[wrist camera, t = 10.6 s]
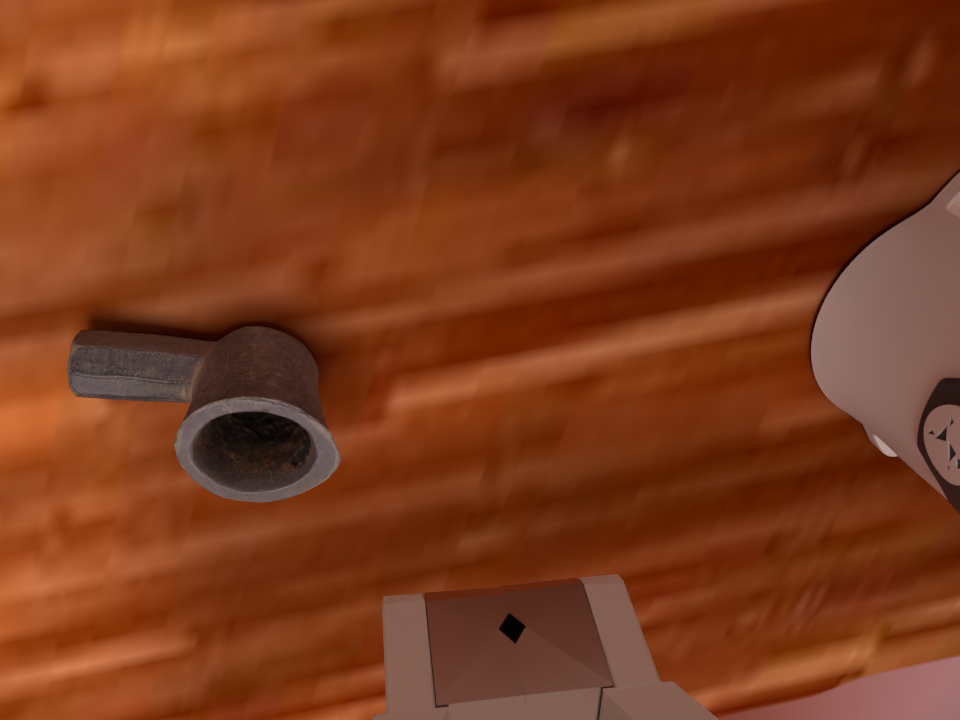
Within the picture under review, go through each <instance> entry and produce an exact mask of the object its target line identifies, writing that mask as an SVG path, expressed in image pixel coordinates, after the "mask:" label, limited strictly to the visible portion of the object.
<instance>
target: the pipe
mask: <svg viewBox="0 0 960 720" xmlns="http://www.w3.org/2000/svg"><path fill="white" fill-rule="evenodd" d="M318 375H319V373H318V366H317V364H316V362H315V360H314V358H313V356H312V354H311V353H310V351H309V350H308V349H307V348H306V346H305V345H304V344H303V343H302V342H300V341H299V340H297V339H296V338H294V337H292V336H291V335H288V334H286V333H284V332H281V331H278V330H275V329H272V328H267V327H261V326H247V327H242V328H240V329H237V330H235V331H233V332H231V333H230V334H228V335H226V336H224V337H223V338H221V339H220V340H218V341H203V340H197V339H189V338H181V337H173V336H166V335H156V334H143V333H126V332H115V331H103V330H81V331H80V332H79V333H78V334H77V335H76V337H75V338H74V340H73V341H72V345H71V350H70V355H69V361H68V382H69V388H70V389H71V391H72V392H73V393H74V394H75V395H76V396H78V397H87V398H102V399H116V400H133V401H160V402H180V403H191V405H190V407H189V409H188V412H187V414H186V416H185V418H184V420H183V422H182V423H181V425H180V427H179V429H178V431H177V438H176V440H175V442H174V448H175V451H176V456H177V459H178V460H179V462H180V464H181V466H182V467H183V469H184V470H185V471H186V472H187V473H188V474H189V475H190V476H191V478H192V479H193V480H195V481H196V482H197V483H199V484H200V485H201V486H202V487H203V488H205V489H207V490H208V491H210V492H212V493H214V494H217V495H219V496H221V497H225V498H229V499H234V500H239V501H250V502H270V501H277V500H282V499H286V498H290V497H293V496H295V495H297V494H300V493H303V492H305V491H307V490H309V489H311V488H313V487H315V486H317V485H319V484H320V483H322V482H324V481H325V480H327V479H328V478H329V477H330V475H331V474H332V473H333V472H334V471H335V470H336V469H337V467H338V465H339V463H340V460H341V457H340V452H339V450H338V448H337V446H336V444H335V441H334V439H333V437H332V435H331V433H330V432H329V430H328V427H327V424H326V422H325V419H324V415H323V412H322V408H321V403H320V399H319V393H318Z"/></svg>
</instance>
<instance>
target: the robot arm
mask: <svg viewBox="0 0 960 720" xmlns="http://www.w3.org/2000/svg"><path fill="white" fill-rule="evenodd" d="M811 360H812V367H813V372H814V375H815V378H816V380H817V383H818V385H819V387H820V388H821V390H822V392H823V393H824V394H825V395H826V397H827V398H828V399H829V400H830V401H831V402H832V403H833V404H835V405H836V406H837V407H839V408H840V409H842V410H843V411H845V412H846V413H848V414H849V415H851V416H852V417H854V418H855V419H856V420H858V421H859V422H860V423H862V424H863V426H864V429H865V431H866V433H867V435H868V437H869V438H870V440H871V442H872V443H873V444H874V445H875V446H876V447H877V448H878V449H879V450H880V451H882V452H883V453H884V454H885V455H887V456H892V457H895V456H899V457H900V458H901V459H902V460H903V461H904V462H905V463H906V464H907V465H909V466H910V467H911V468H912V469H913V470H914V471H915V472H916V473H918V474H919V475H920V476H921V477H922V478H923V479H924V480H925V481H927V482H928V483H929V484H930V485H931V486H932V487H933V488H934V489H936V490H937V491H938V492H939V493H940V494H941V495H942V496H944V497H945V498H946V499H947V500H948V501H949V503H950V504H951V505H952V506H953V508H954V509H955V510H956V511H957V512H958V513H959V514H960V172H959V173H958V174H957V175H956V176H955V177H954V178H953V179H952V180H951V181H950V182H949V183H948V184H947V185H946V187H945V188H944V189H943V190H942V191H941V192H940V193H939V194H938V195H937V196H936V198H935V199H934V200H933V201H932V202H931V203H930V204H929V205H927V206H926V207H925V208H923V209H922V210H920V211H919V212H917V213H916V214H914V215H913V216H911V217H909V218H908V219H906V220H904V221H903V222H901V223H899V224H898V225H896V226H894V227H893V228H891V229H890V230H888V231H887V232H885V233H884V234H883V235H881V236H880V237H879V238H877V239H876V240H875V241H873V242H872V243H871V244H870V245H869V246H867V247H866V248H865V249H864V250H863V251H862V252H861V253H860V254H859V255H858V256H857V257H856V258H855V259H854V260H853V261H852V262H851V263H850V264H849V266H848V267H847V268H846V269H845V270H844V272H843V273H842V274H841V275H840V277H839V278H838V279H837V281H836V282H835V284H834V285H833V287H832V288H831V290H830V292H829V293H828V295H827V297H826V299H825V301H824V303H823V305H822V307H821V309H820V312H819V314H818V317H817V320H816V323H815V327H814V331H813V336H812V343H811ZM382 612H383V636H384V660H385V684H386V708H387V713H384V714H377V715H374V716H373V718H372V720H719V719H718V718H716V717H715V716H714V715H713V714H712V713H710V712H709V711H708V710H707V709H706V708H704V707H703V706H702V705H701V704H700V703H698V702H697V701H696V700H695V699H693V698H692V697H691V696H690V695H689V694H687V693H686V692H685V691H684V690H683V689H681V688H680V687H679V686H678V685H677V684H675V683H674V682H673V681H669V682H661V681H660V679H659V676H658V673H657V671H656V668H655V665H654V663H653V660H652V657H651V654H650V652H649V649H648V646H647V644H646V641H645V638H644V636H643V633H642V630H641V627H640V625H639V622H638V619H637V617H636V614H635V611H634V609H633V606H632V603H631V600H630V598H629V595H628V592H627V590H626V587H625V584H624V582H623V580H622V579H621V577H620V576H619V575H618V574H613V575H603V576H594V577H584V578H579V579H577V578H570V579H561V580H552V581H543V582H533V583H524V584H515V585H506V586H501V587H497V588H483V589H469V590H455V591H441V592H427V593H425V595H424V594H423V593H420V594H408V595H395V596H384V597H383V606H382Z"/></svg>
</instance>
